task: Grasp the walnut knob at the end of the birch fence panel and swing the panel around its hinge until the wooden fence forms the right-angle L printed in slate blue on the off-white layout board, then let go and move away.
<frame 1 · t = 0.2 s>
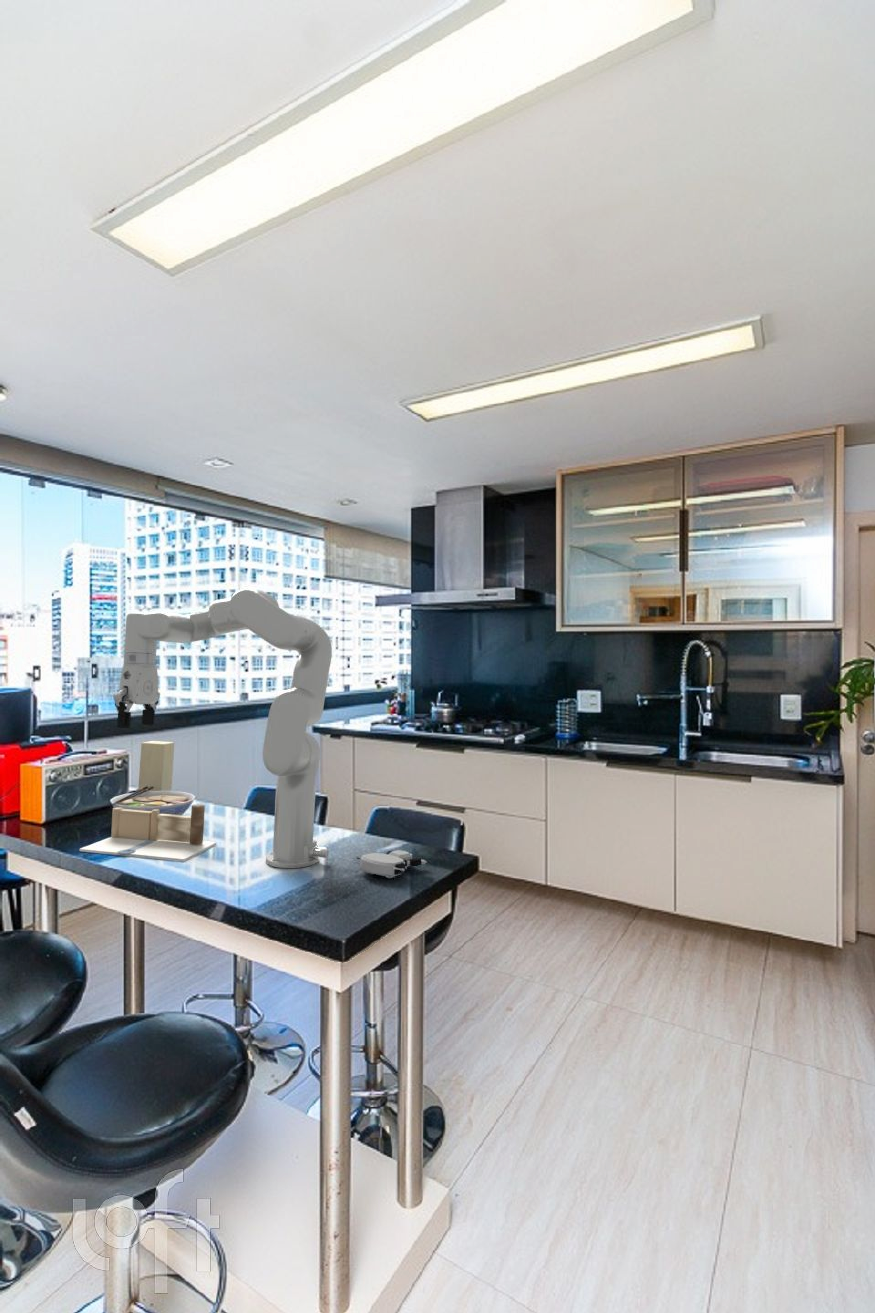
hand: (136, 726, 158), 31 cm above the breakfast bar, tool pointing down, fingers open, 9 cm apart
beige tall block: (154, 807, 200), on the breakfast bar
robot toy: (390, 873, 145), on the breakfast bar
layout board with fixed fence: (153, 842, 160), on the breakfast bar
hinged fence panel: (180, 822, 159), point 6 cm above the breakfast bar, hinge at 0.0°
ramen bowl: (152, 824, 179), on the breakfast bar
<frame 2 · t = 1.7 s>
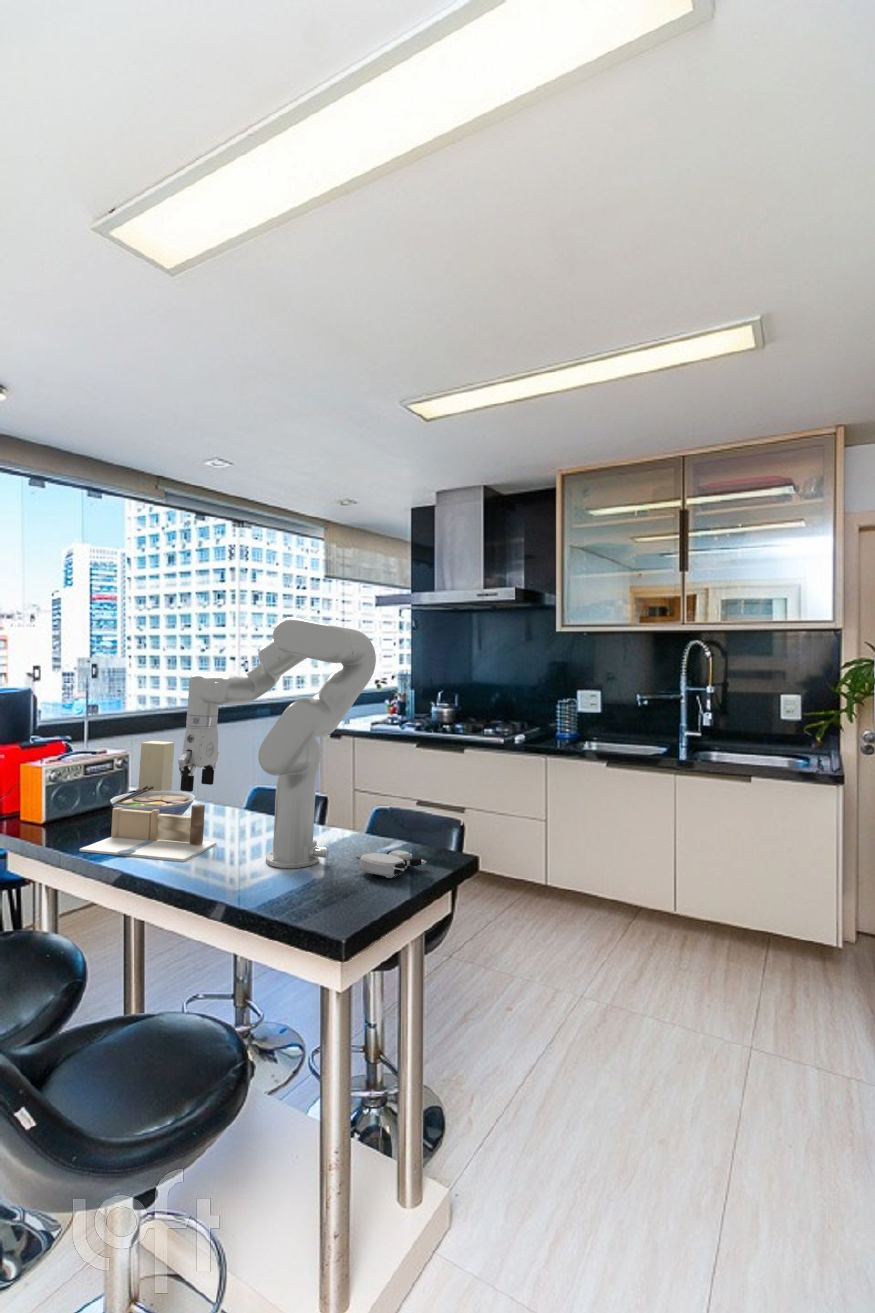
hand: (197, 787, 159), 15 cm above the breakfast bar, tool pointing down, fingers open, 9 cm apart
nothing on the breakfast bar moved.
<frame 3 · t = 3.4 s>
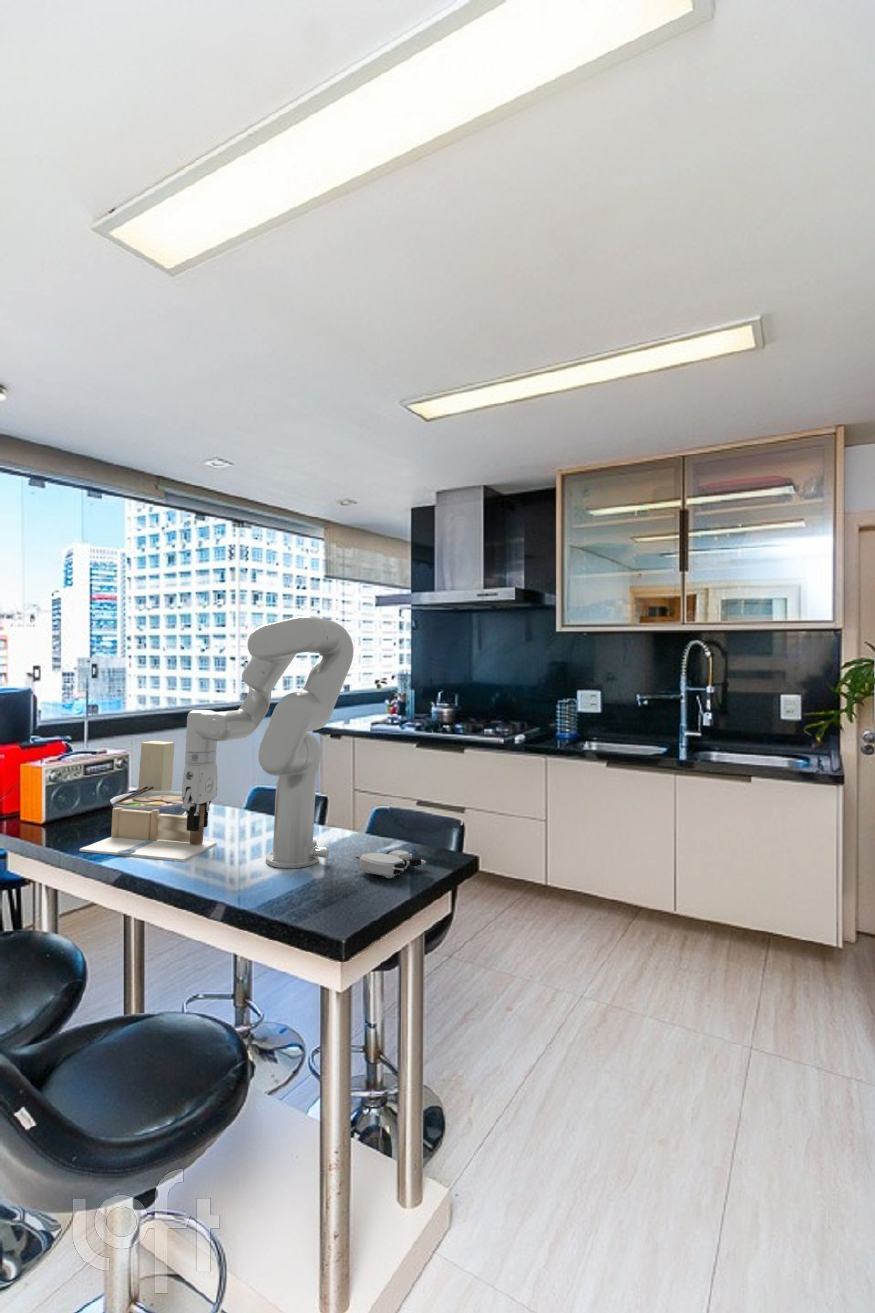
hand: (197, 828, 159), 5 cm above the breakfast bar, tool pointing down, fingers closed on hinged fence panel, 3 cm apart
hinged fence panel: (180, 822, 159), point 6 cm above the breakfast bar, hinge at 0.0°, touching gripper
everything else where it was.
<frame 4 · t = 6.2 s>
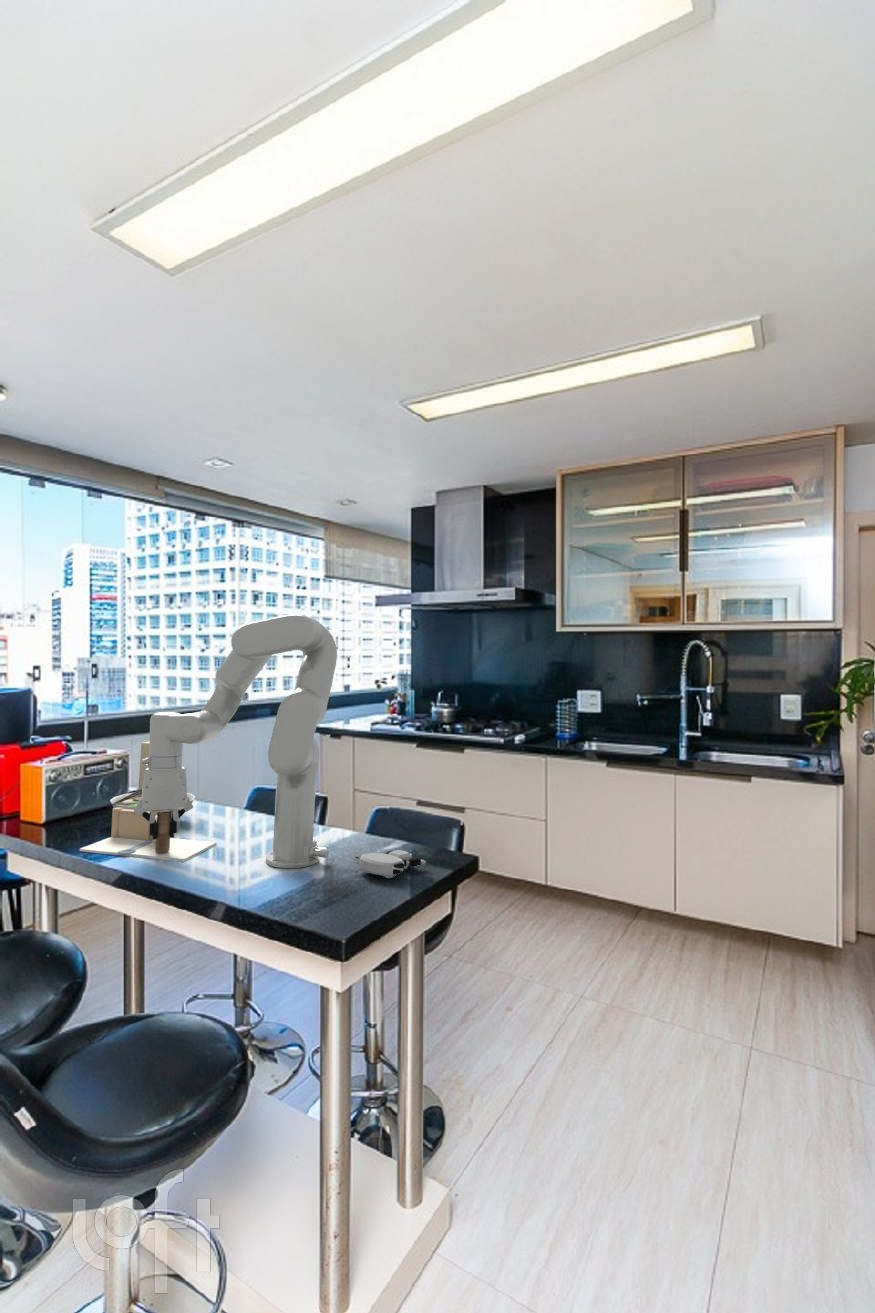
hand: (163, 836, 151), 4 cm above the breakfast bar, tool pointing down, fingers closed on hinged fence panel, 3 cm apart
hinged fence panel: (160, 827, 154), point 6 cm above the breakfast bar, hinge at 47.1°, touching gripper
everything else where it was.
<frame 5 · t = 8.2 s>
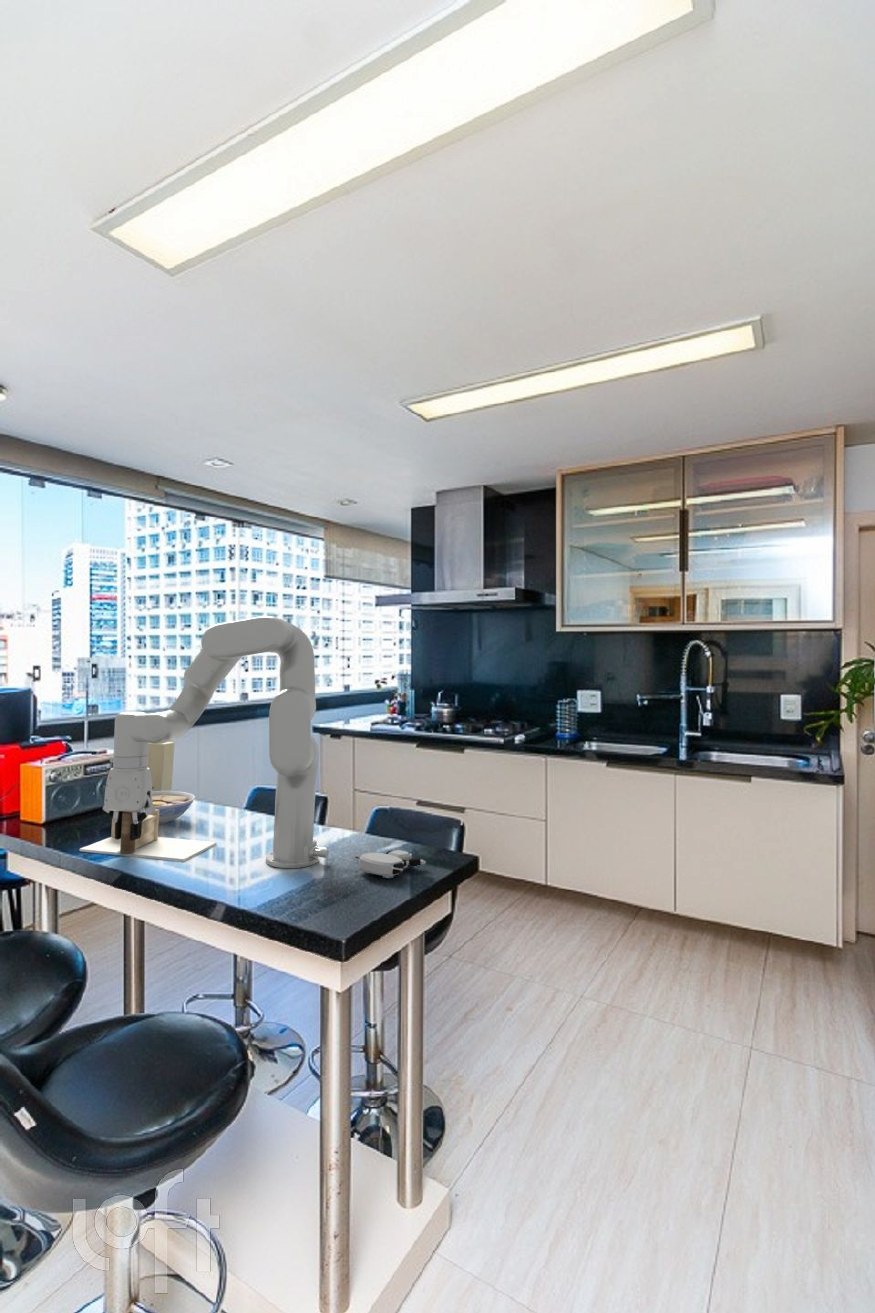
hand: (128, 837, 149), 4 cm above the breakfast bar, tool pointing down, fingers closed on hinged fence panel, 3 cm apart
hinged fence panel: (139, 827, 153), point 6 cm above the breakfast bar, hinge at 85.3°, touching gripper
everything else where it was.
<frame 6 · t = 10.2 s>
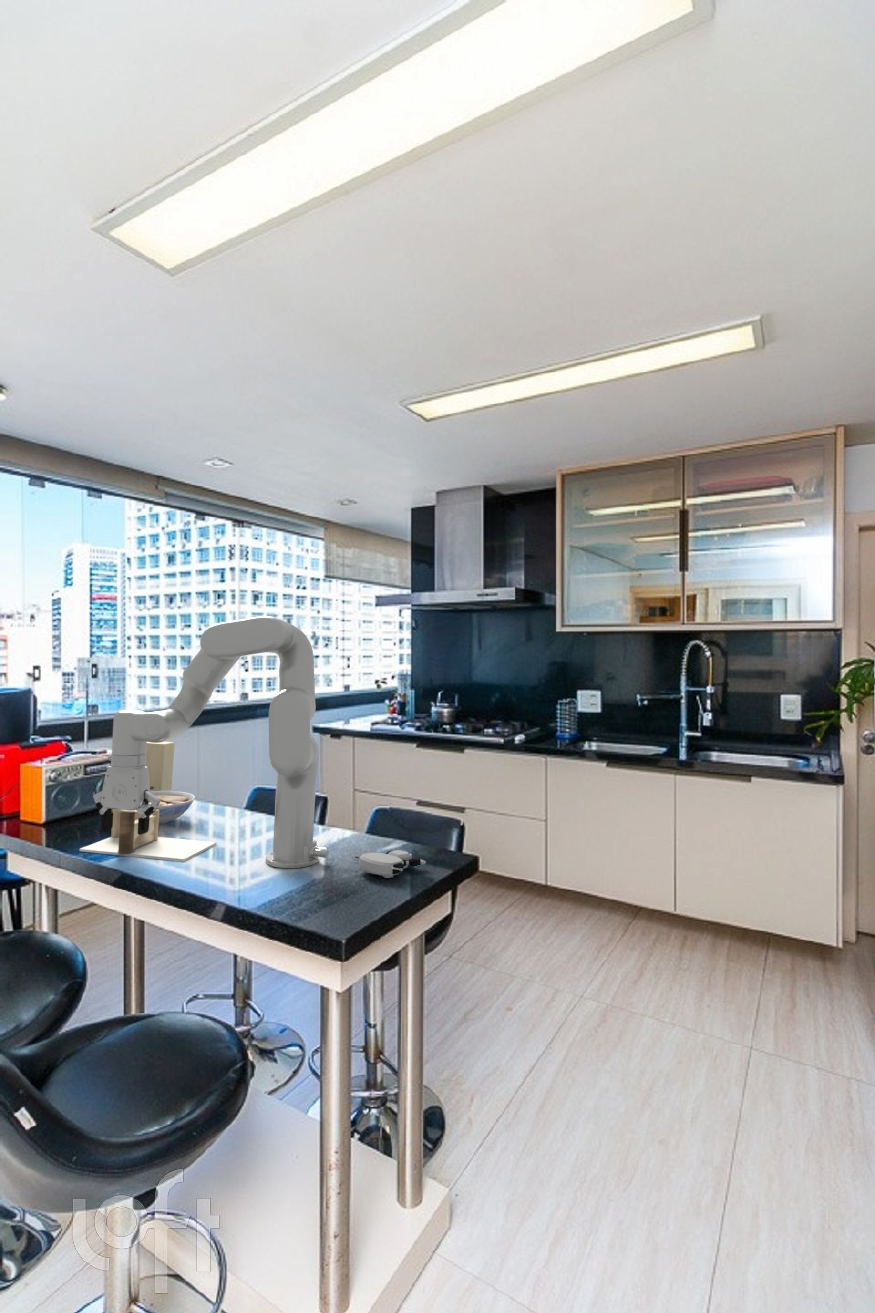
hand: (124, 831, 149), 6 cm above the breakfast bar, tool pointing down, fingers open, 9 cm apart
hinged fence panel: (138, 827, 153), point 6 cm above the breakfast bar, hinge at 87.5°
everything else where it was.
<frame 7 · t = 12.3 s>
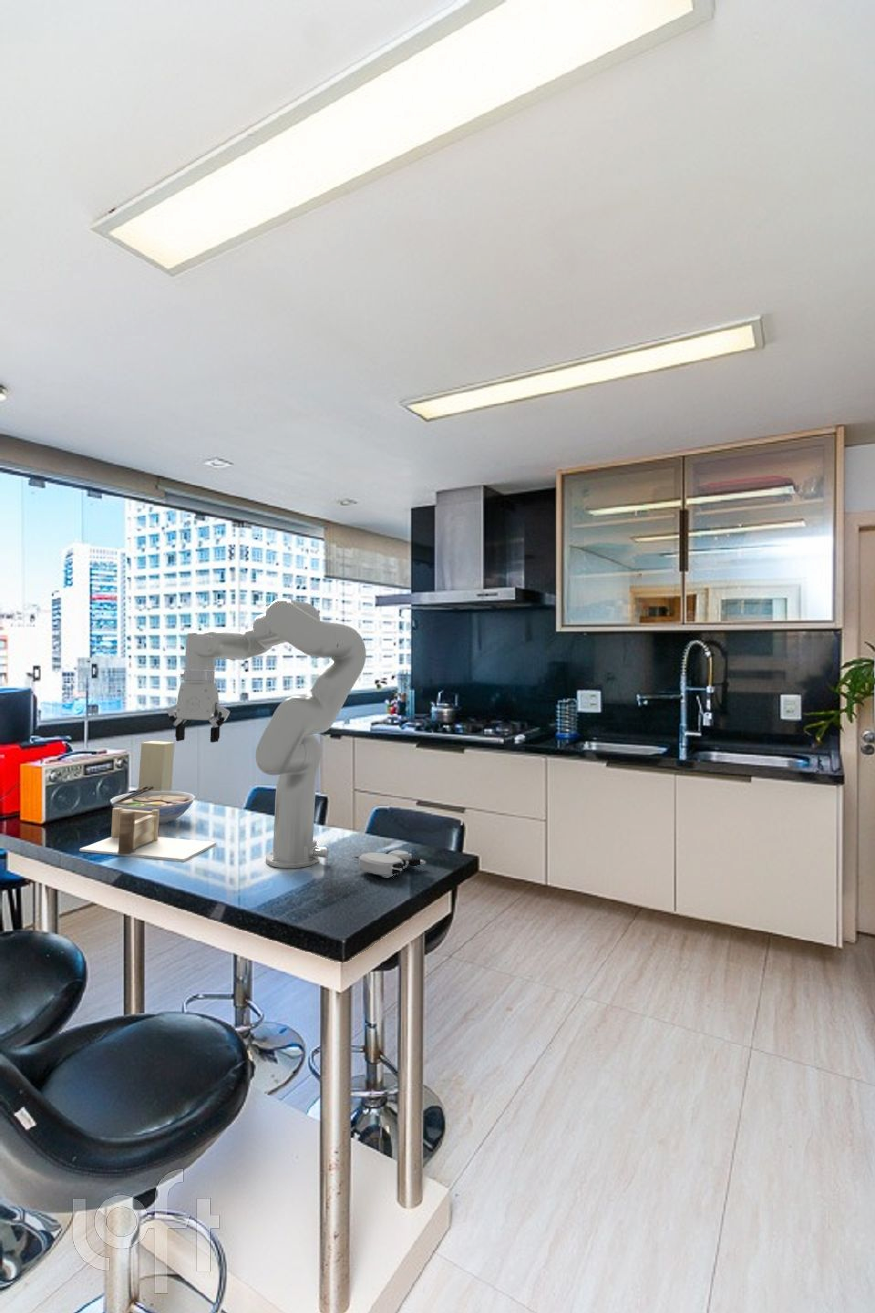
hand: (197, 741, 164), 27 cm above the breakfast bar, tool pointing down, fingers open, 9 cm apart
nothing on the breakfast bar moved.
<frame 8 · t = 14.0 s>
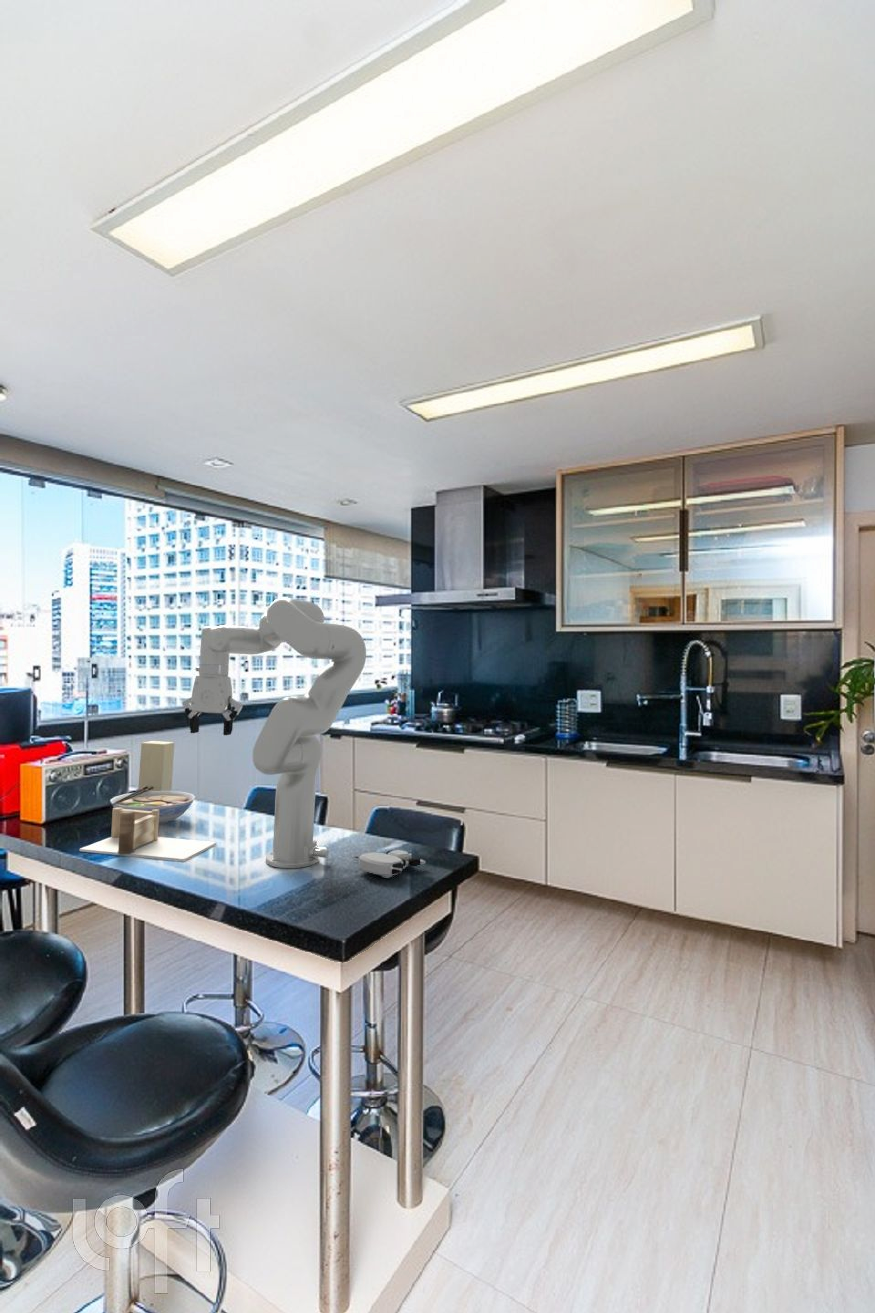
hand: (210, 733, 167), 28 cm above the breakfast bar, tool pointing down, fingers open, 9 cm apart
nothing on the breakfast bar moved.
at the end: hinged fence panel at +88° (first picture: +0°); the gripper is holding nothing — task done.
